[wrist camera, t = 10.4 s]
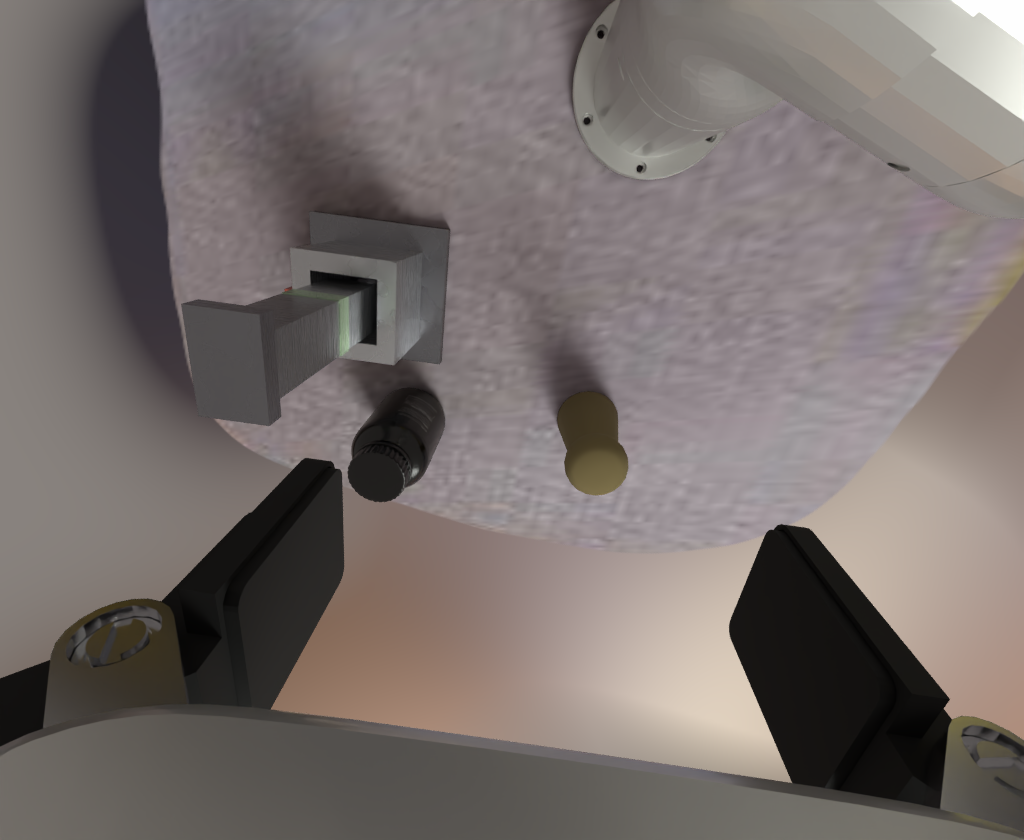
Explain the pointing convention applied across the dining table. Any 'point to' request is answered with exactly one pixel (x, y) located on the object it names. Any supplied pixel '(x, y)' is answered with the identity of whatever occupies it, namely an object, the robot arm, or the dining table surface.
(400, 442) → the supplement bottle
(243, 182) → the dining table surface
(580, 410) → the olive knobbed figure
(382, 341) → the stand base
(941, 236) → the dining table surface
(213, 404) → the column
